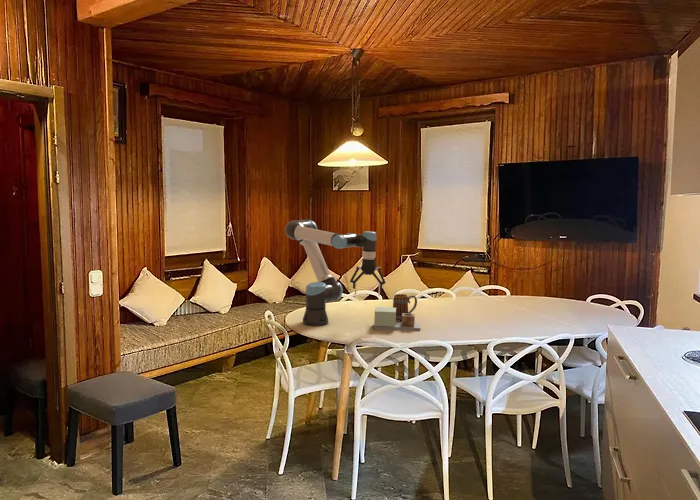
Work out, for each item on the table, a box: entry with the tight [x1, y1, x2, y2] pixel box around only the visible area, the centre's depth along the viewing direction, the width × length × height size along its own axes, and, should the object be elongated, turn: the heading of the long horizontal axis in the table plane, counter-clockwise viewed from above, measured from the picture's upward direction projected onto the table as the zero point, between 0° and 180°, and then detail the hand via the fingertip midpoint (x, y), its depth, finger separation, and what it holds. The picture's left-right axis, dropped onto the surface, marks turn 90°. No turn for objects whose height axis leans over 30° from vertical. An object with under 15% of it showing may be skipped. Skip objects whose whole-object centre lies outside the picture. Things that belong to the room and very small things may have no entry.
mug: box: [392, 293, 418, 322], centre depth 336 cm, size 16×11×15 cm
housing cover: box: [373, 306, 397, 327], centre depth 317 cm, size 12×12×8 cm
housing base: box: [373, 321, 421, 332], centre depth 316 cm, size 26×12×6 cm, turn 85°
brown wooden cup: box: [401, 313, 415, 327], centre depth 316 cm, size 7×7×6 cm
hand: (367, 295), depth 317 cm, fingers open, 13 cm apart
